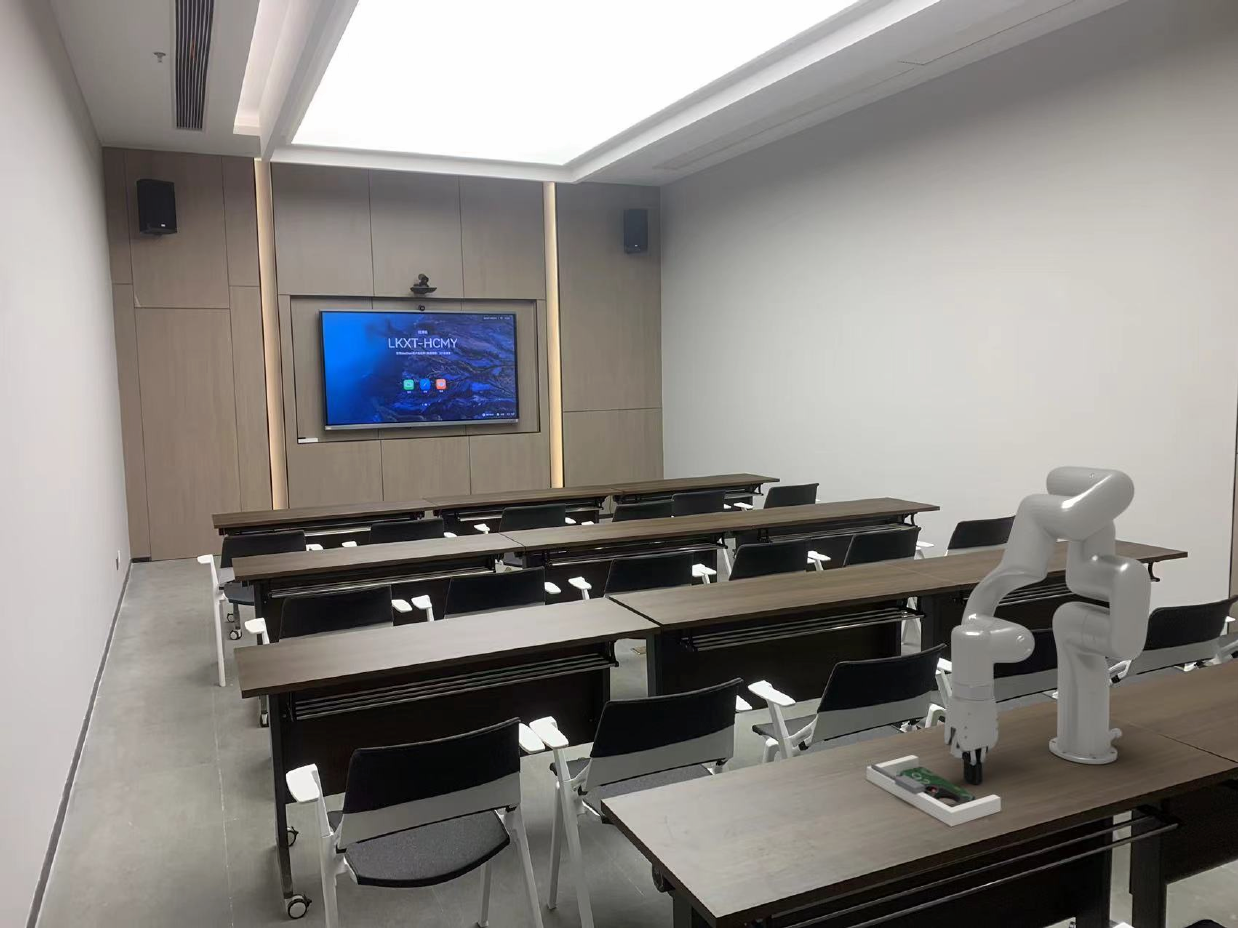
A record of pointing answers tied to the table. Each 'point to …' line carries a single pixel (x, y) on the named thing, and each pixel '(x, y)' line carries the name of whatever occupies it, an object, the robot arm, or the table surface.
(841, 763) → the table surface
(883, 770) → the white angled bar
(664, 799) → the table surface
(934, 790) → the gun
